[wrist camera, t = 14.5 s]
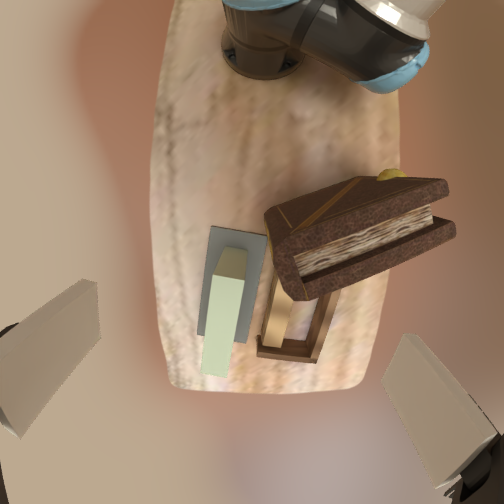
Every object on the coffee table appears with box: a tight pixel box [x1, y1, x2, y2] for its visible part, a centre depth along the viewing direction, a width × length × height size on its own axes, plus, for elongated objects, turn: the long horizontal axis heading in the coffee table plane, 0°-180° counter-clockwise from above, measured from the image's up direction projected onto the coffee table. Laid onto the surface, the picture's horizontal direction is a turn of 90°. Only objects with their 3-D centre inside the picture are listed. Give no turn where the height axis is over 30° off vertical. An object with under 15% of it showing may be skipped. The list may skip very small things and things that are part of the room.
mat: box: [197, 226, 268, 343], centre depth 51 cm, size 22×10×1 cm, turn 170°
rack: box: [257, 288, 342, 364], centre depth 49 cm, size 20×12×6 cm, turn 170°
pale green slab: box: [200, 246, 248, 378], centre depth 43 cm, size 16×4×15 cm, turn 170°
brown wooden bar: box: [261, 270, 293, 348], centre depth 49 cm, size 17×4×5 cm, turn 170°
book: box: [264, 169, 456, 301], centre depth 35 cm, size 22×8×25 cm, turn 111°
